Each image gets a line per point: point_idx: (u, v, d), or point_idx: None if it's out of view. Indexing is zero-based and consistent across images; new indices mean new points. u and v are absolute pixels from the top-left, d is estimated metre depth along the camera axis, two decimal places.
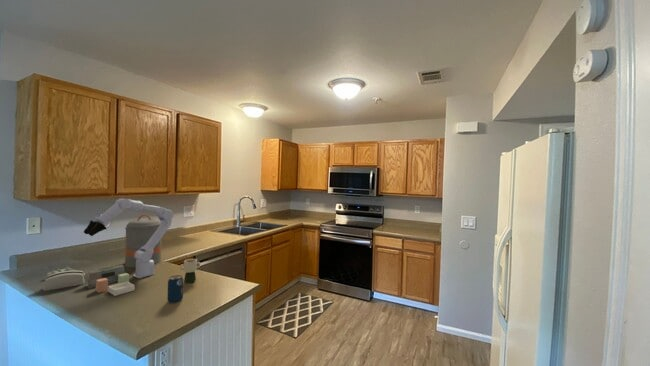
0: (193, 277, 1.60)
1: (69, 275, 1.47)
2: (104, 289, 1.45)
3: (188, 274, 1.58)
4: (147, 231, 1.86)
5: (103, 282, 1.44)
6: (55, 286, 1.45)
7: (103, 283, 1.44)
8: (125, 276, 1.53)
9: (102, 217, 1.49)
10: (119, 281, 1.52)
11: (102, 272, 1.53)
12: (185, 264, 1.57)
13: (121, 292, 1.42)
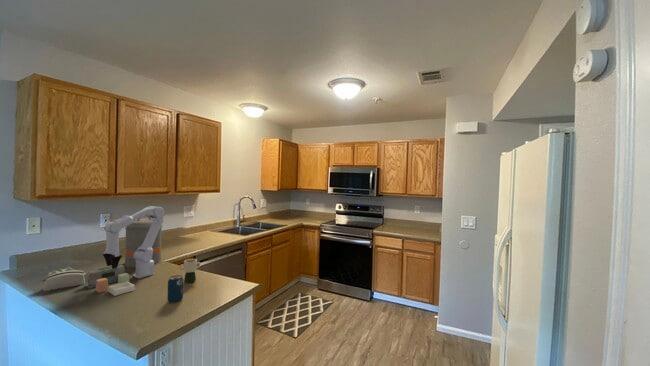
0: (193, 277, 1.60)
1: (70, 275, 1.48)
2: (104, 289, 1.45)
3: (188, 274, 1.58)
4: (147, 231, 1.86)
5: (103, 282, 1.44)
6: (56, 286, 1.45)
7: (103, 283, 1.44)
8: (125, 276, 1.53)
9: (109, 250, 1.50)
10: (119, 281, 1.52)
11: (102, 272, 1.53)
12: (185, 264, 1.57)
13: (121, 292, 1.42)
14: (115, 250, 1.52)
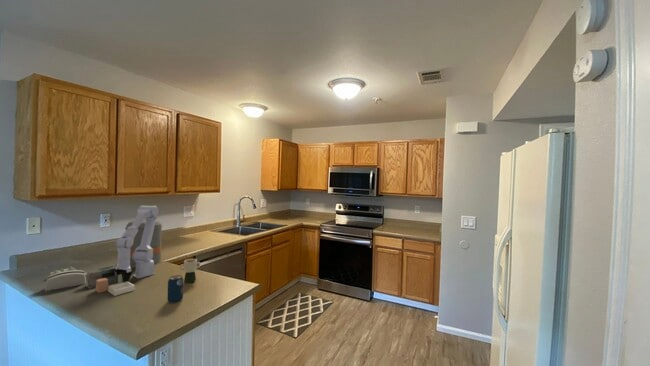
0: (193, 277, 1.60)
1: (71, 275, 1.48)
2: (104, 289, 1.45)
3: (188, 274, 1.58)
4: None
5: (103, 282, 1.44)
6: (57, 286, 1.45)
7: (103, 283, 1.44)
8: None
9: (120, 265, 1.51)
10: (119, 281, 1.52)
11: (102, 272, 1.53)
12: (185, 264, 1.57)
13: (121, 292, 1.42)
14: (127, 265, 1.52)
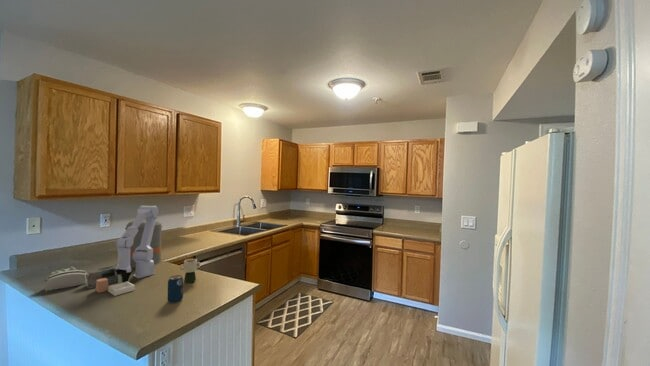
0: (193, 277, 1.60)
1: (72, 275, 1.48)
2: (104, 289, 1.45)
3: (188, 274, 1.58)
4: None
5: (103, 282, 1.44)
6: (57, 286, 1.45)
7: (103, 283, 1.44)
8: None
9: (121, 265, 1.51)
10: (119, 281, 1.52)
11: (102, 272, 1.53)
12: (185, 264, 1.57)
13: (121, 292, 1.42)
14: (127, 265, 1.52)
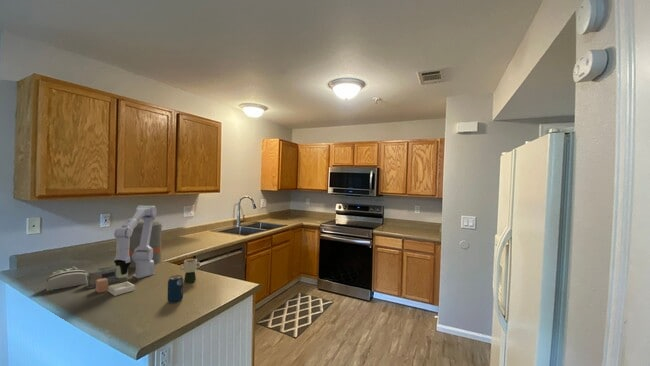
0: (193, 277, 1.60)
1: (73, 275, 1.48)
2: (104, 289, 1.45)
3: (188, 274, 1.58)
4: None
5: (103, 282, 1.44)
6: (58, 286, 1.46)
7: (103, 283, 1.44)
8: None
9: (119, 256, 1.46)
10: (117, 272, 1.47)
11: (102, 272, 1.53)
12: (185, 264, 1.57)
13: (121, 292, 1.42)
14: (126, 256, 1.47)
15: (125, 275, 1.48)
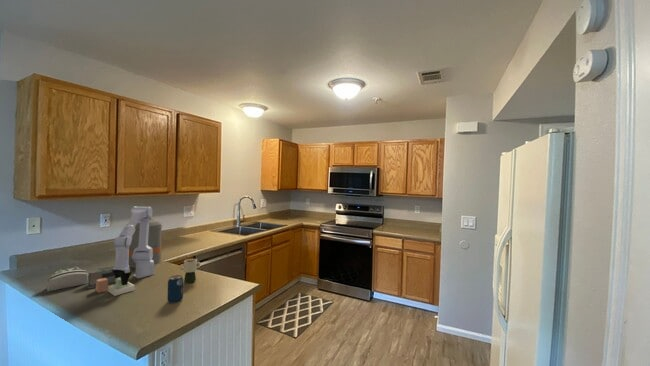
0: (193, 277, 1.60)
1: (74, 274, 1.48)
2: (104, 289, 1.45)
3: (188, 274, 1.58)
4: None
5: (103, 282, 1.44)
6: (59, 286, 1.46)
7: (103, 283, 1.44)
8: None
9: (118, 266, 1.43)
10: (116, 285, 1.44)
11: (102, 272, 1.53)
12: (185, 264, 1.57)
13: (121, 292, 1.42)
14: (125, 266, 1.44)
15: None
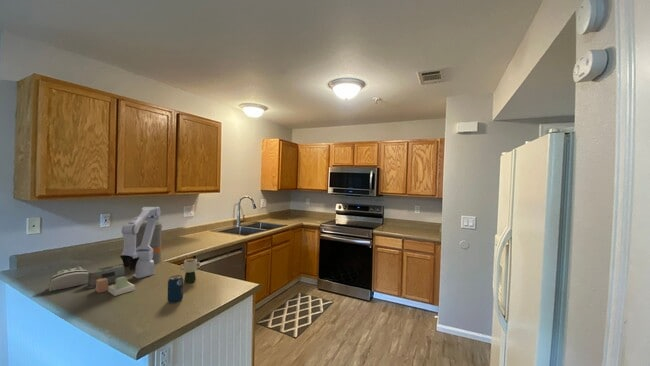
0: (193, 277, 1.60)
1: (76, 274, 1.49)
2: (104, 289, 1.45)
3: (188, 274, 1.58)
4: None
5: (103, 282, 1.44)
6: (61, 286, 1.46)
7: (103, 283, 1.44)
8: (123, 280, 1.44)
9: (127, 251, 1.51)
10: (116, 285, 1.44)
11: (102, 272, 1.53)
12: (185, 264, 1.57)
13: (121, 292, 1.42)
14: (133, 252, 1.53)
15: None
